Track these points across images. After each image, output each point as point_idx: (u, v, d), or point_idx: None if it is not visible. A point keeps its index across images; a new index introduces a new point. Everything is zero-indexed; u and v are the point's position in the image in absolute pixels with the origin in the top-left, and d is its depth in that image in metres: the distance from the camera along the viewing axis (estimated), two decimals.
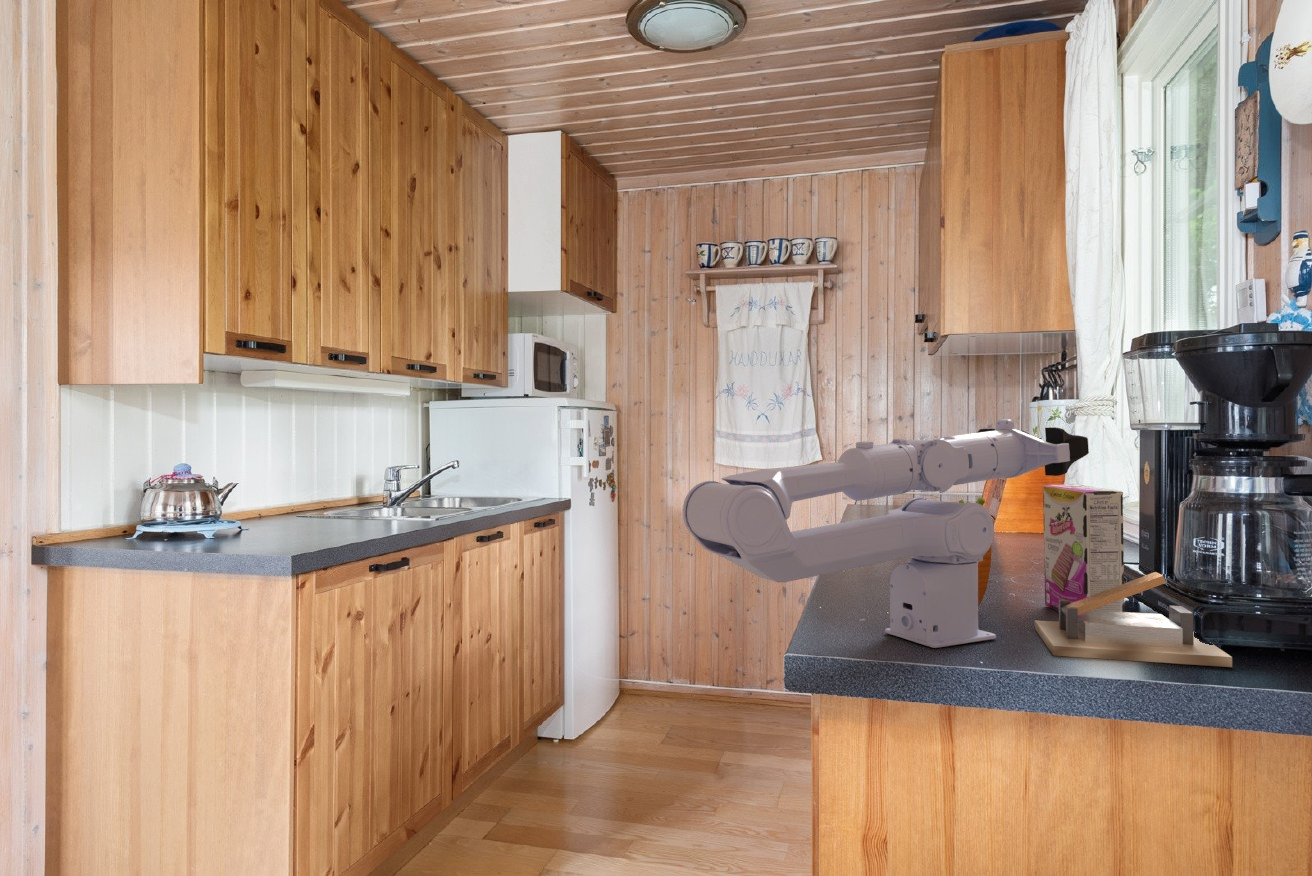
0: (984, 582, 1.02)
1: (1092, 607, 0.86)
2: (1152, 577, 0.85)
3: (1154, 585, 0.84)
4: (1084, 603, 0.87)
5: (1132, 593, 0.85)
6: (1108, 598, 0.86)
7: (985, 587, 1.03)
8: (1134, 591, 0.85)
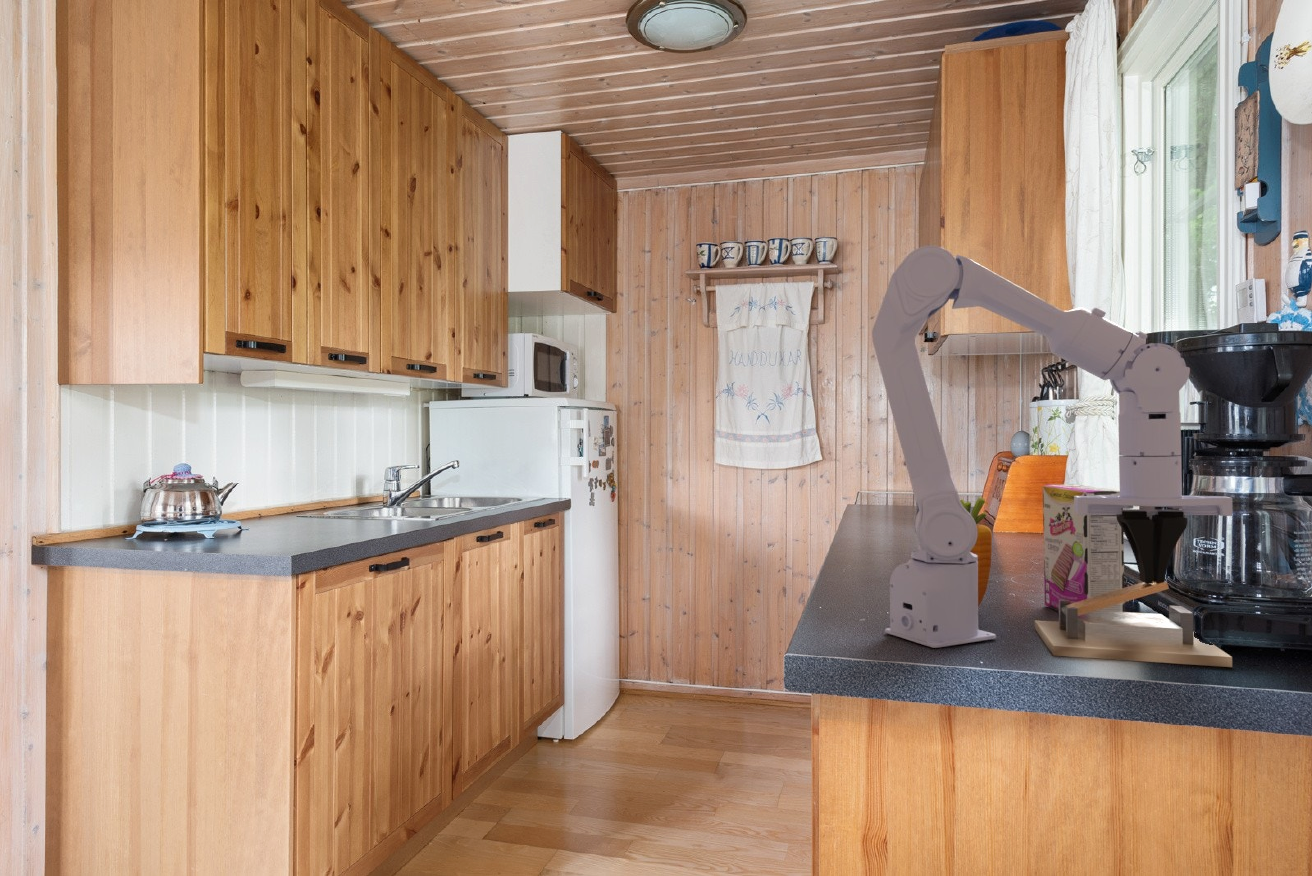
0: (984, 582, 1.02)
1: (1093, 608, 0.86)
2: None
3: (1156, 590, 0.84)
4: (1085, 604, 0.87)
5: (1134, 597, 0.85)
6: (1109, 600, 0.86)
7: (985, 587, 1.03)
8: (1136, 595, 0.85)
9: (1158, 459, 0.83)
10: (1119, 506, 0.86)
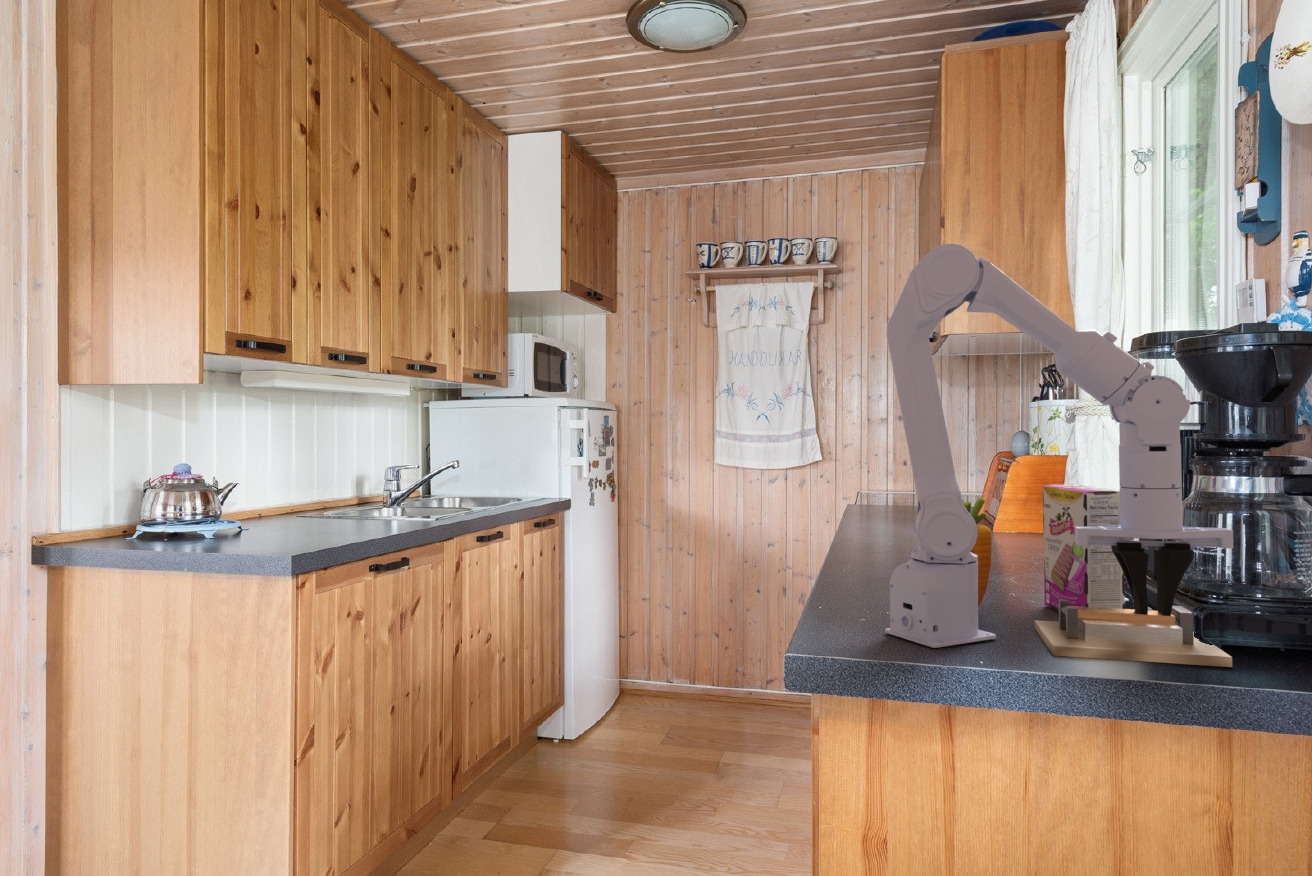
0: (984, 582, 1.02)
1: (1094, 616, 0.86)
2: None
3: (1162, 621, 0.84)
4: (1088, 610, 0.87)
5: (1138, 620, 0.85)
6: (1113, 615, 0.86)
7: (985, 587, 1.03)
8: (1141, 619, 0.85)
9: (1159, 492, 0.83)
10: (1120, 537, 0.86)
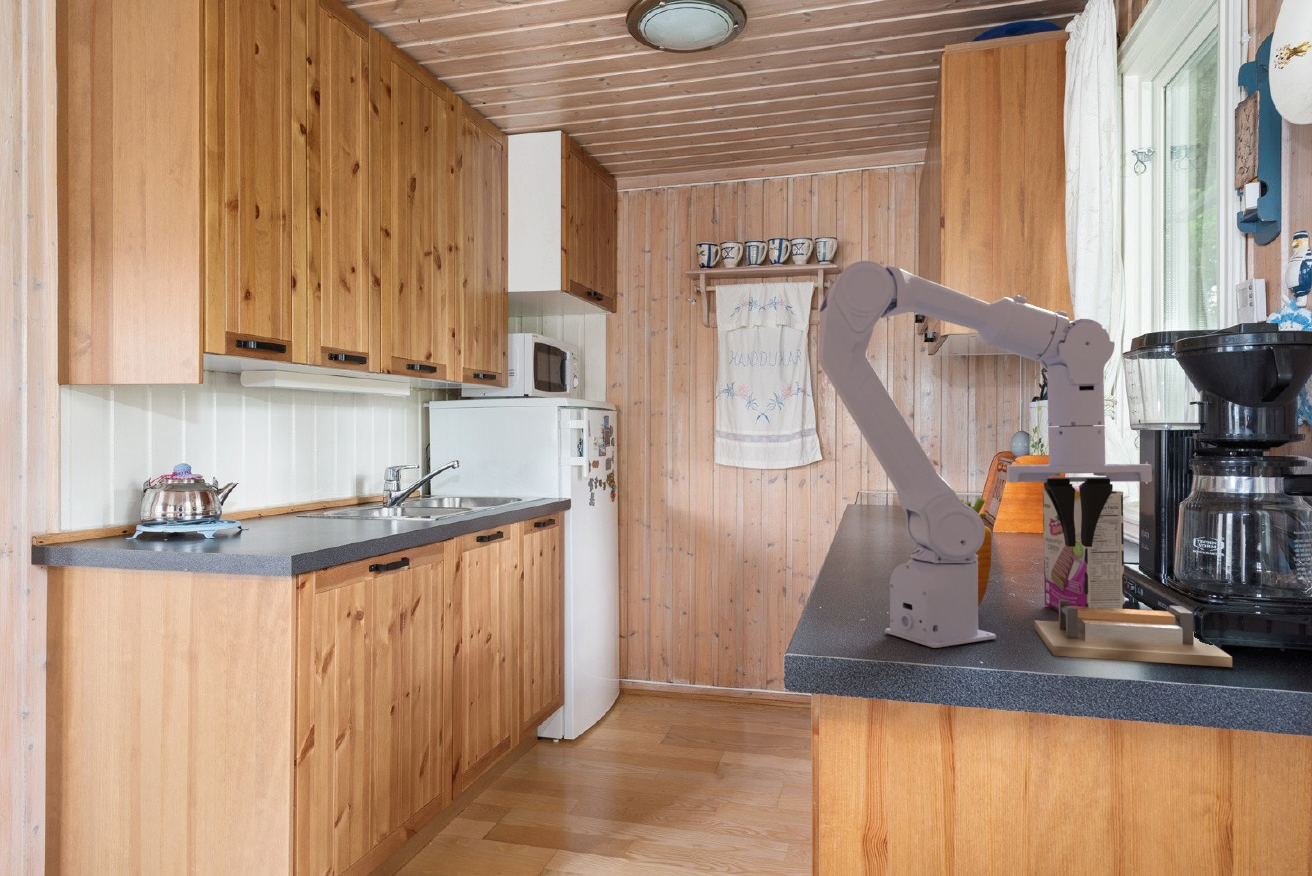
0: (984, 582, 1.02)
1: (1094, 616, 0.86)
2: (1163, 614, 0.85)
3: (1162, 621, 0.84)
4: (1088, 610, 0.87)
5: (1138, 620, 0.85)
6: (1113, 615, 0.86)
7: (985, 587, 1.03)
8: (1141, 619, 0.85)
9: (1082, 428, 0.88)
10: (1047, 474, 0.91)
